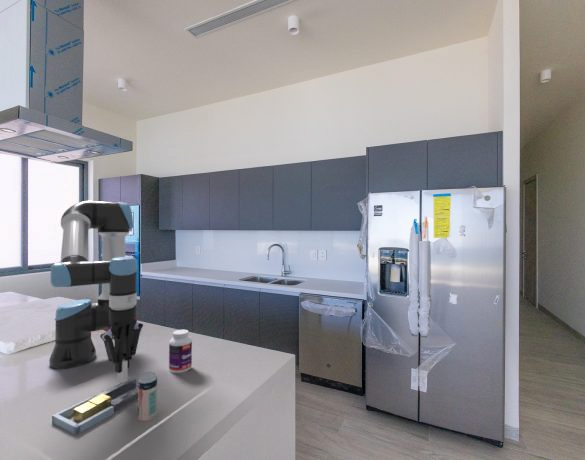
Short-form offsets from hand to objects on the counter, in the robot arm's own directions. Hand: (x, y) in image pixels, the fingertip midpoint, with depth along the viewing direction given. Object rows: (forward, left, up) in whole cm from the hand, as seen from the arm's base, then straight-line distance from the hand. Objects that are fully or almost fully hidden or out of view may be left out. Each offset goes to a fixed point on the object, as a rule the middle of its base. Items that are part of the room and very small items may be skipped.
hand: (122, 380), depth 94 cm
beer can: (+16, -3, -6) cm, 17 cm away
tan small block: (+1, -11, -5) cm, 12 cm away
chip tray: (+1, -11, -5) cm, 13 cm away
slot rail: (+1, 0, -5) cm, 5 cm away
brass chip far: (+1, -7, -5) cm, 9 cm away
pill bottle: (+2, +22, -6) cm, 23 cm away
